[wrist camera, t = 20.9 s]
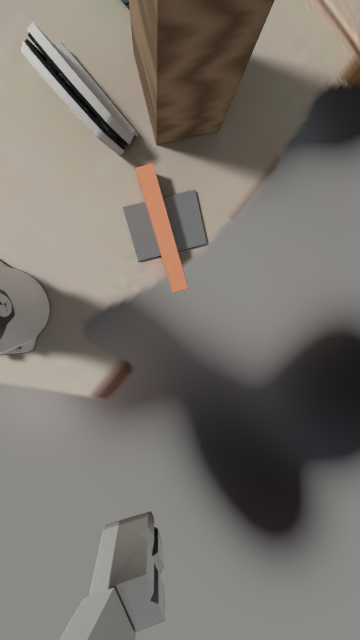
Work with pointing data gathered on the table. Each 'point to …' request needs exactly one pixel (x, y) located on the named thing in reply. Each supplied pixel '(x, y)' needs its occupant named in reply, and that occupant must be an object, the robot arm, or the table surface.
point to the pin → (161, 226)
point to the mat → (182, 223)
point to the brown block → (192, 59)
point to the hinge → (77, 90)
